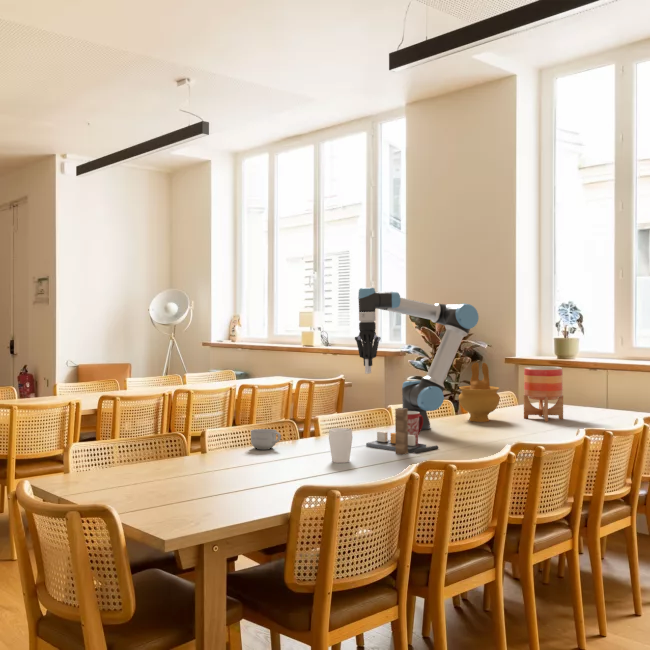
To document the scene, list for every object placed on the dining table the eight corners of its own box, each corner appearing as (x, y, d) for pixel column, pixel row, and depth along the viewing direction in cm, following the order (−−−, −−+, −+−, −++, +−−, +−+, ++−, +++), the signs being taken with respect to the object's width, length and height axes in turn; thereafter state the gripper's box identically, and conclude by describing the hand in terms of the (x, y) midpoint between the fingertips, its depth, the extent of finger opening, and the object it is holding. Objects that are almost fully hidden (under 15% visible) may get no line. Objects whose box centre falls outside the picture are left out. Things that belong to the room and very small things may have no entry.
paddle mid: (393, 442, 301) (393, 432, 301) (401, 443, 299) (401, 433, 299) (390, 442, 300) (390, 433, 300) (398, 443, 297) (398, 434, 297)
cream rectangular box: (407, 444, 297) (407, 434, 297) (415, 445, 294) (415, 435, 294) (404, 444, 295) (404, 435, 295) (412, 445, 293) (412, 436, 293)
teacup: (245, 448, 299) (245, 429, 299) (264, 445, 307) (264, 426, 307) (268, 453, 289) (267, 433, 289) (287, 449, 297) (287, 430, 297)
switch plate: (382, 442, 311) (382, 438, 311) (426, 448, 297) (426, 444, 297) (366, 446, 302) (366, 442, 302) (410, 452, 288) (410, 448, 288)
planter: (521, 415, 386) (521, 366, 386) (559, 416, 383) (559, 366, 383) (526, 421, 366) (526, 369, 366) (566, 421, 364) (566, 369, 363)
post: (400, 452, 289) (400, 407, 289) (407, 453, 287) (407, 408, 286) (395, 453, 286) (395, 408, 286) (402, 454, 284) (402, 409, 284)
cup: (325, 460, 275) (325, 428, 275) (346, 457, 279) (346, 427, 279) (334, 464, 267) (334, 432, 267) (356, 462, 270) (356, 430, 270)
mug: (409, 446, 301) (409, 414, 301) (394, 443, 309) (394, 412, 308) (430, 442, 309) (430, 411, 309) (415, 440, 316) (415, 409, 316)
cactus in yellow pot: (451, 421, 369) (451, 363, 368) (468, 416, 386) (468, 360, 385) (490, 424, 357) (490, 364, 356) (506, 419, 374) (505, 362, 373)
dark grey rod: (436, 448, 297) (436, 444, 297) (439, 448, 296) (439, 445, 296) (413, 453, 287) (413, 449, 287) (416, 453, 286) (416, 450, 286)
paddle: (379, 440, 306) (379, 431, 306) (387, 441, 303) (387, 431, 303) (377, 440, 304) (377, 431, 304) (384, 442, 302) (384, 432, 302)
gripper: (350, 321, 327) (351, 373, 327) (374, 321, 319) (375, 374, 319) (360, 321, 333) (361, 372, 333) (383, 321, 325) (384, 373, 325)
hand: (368, 373), depth 326 cm, fingers closed
